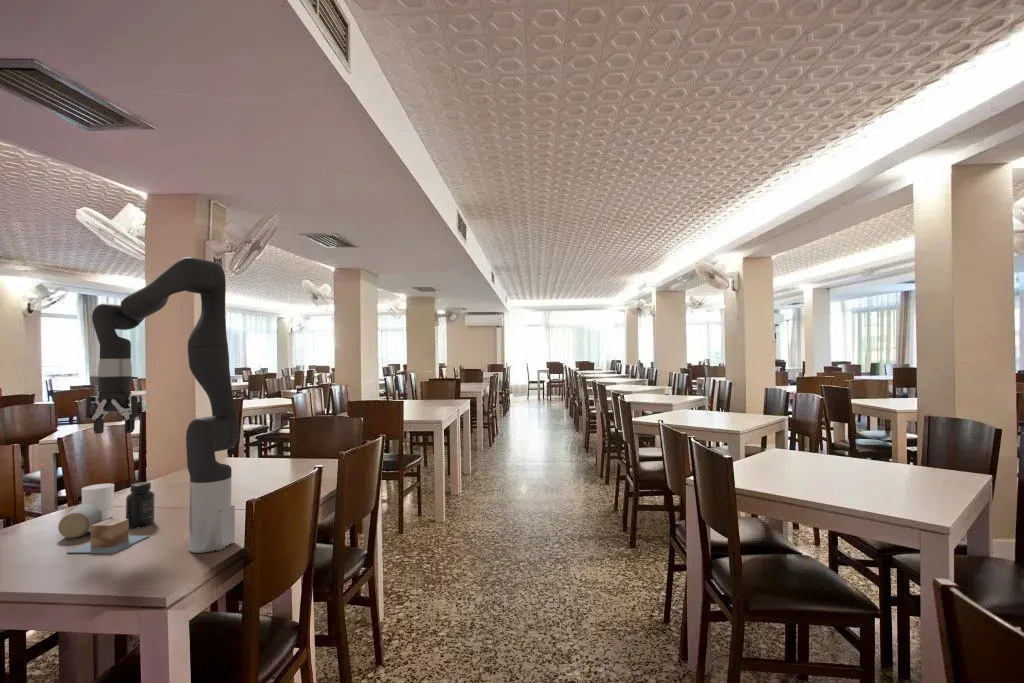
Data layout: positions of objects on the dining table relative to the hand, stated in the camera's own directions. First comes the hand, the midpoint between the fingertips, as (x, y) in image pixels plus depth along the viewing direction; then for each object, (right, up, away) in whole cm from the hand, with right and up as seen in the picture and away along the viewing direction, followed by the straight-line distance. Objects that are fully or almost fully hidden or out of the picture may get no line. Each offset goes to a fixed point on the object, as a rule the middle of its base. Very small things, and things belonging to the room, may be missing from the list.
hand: (113, 433), depth 142 cm
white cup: (-16, -29, +14) cm, 36 cm away
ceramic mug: (-8, -29, 0) cm, 30 cm away
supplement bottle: (+2, -29, +8) cm, 30 cm away
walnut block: (+6, -27, -9) cm, 29 cm away
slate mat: (+6, -28, -9) cm, 30 cm away
